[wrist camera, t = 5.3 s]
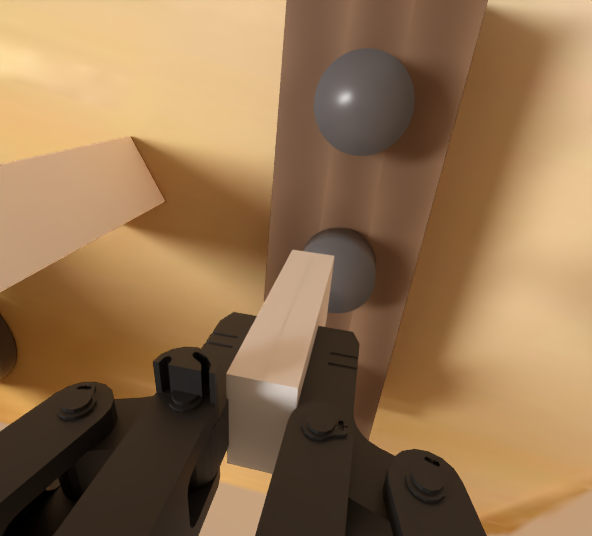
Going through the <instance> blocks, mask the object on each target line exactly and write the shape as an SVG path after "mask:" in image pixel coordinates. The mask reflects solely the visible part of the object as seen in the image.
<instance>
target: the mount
mask: <svg viewBox="0 0 592 536" xmlns="http://www.w3.org/2000/svg"><path fill="white" fill-rule="evenodd" d="M487 2H488V0H287V2H286V15H285V29H284V42H283V55H282V69H281V82H280V95H279V108H278V122H277V135H276V148H275V162H274V175H273V188H272V201H271V215H270V228H269V241H268V255H267V268H266V281H265V294H264V302H265V300H266V298H267V296H268V295H269V293H270V291H271V289H272V287H273V285H274V283H275V281H276V280H277V278H278V276H279V274H280V272H281V270H282V268H283V266H284V265H285V263H286V261H287V259H288V257H289V255H290V253H291V251H292V250H298V251H303V249H304V247H305V246H306V244H307V242H308V241H309V240H310V239H311V238H312V237H313V236H314V235H315V234H317V233H318V232H320V231H323V230H325V229H329V228H345V229H349V230H352V231H355V232H356V233H358V234H360V235H361V236H363V237H364V238H365V239H366V240H367V241H368V242H369V244H370V245H371V247H372V248H373V251H374V253H375V257H376V275H375V286H374V289H373V292H372V294H371V296H370V298H369V299H368V300H367V301H366V302H365V303H364V304H363V305H362V306H361V307H359V308H357V309H355V310H353V311H350V312H346V313H328V312H327V319H326V324H325V327H328V328H334V329H340V330H346V331H351V332H354V334H355V336H356V338H357V340H358V342H359V344H360V346H359V357H358V368H357V380H356V391H355V403H354V420H355V423H356V425H357V428H358V429H359V431H360V432H361V433H362V435H363V436H364V437H365V438H366V439H367V440H369V436H370V433H371V429H372V425H373V422H374V418H375V414H376V411H377V407H378V403H379V399H380V396H381V392H382V388H383V385H384V381H385V377H386V374H387V370H388V366H389V363H390V359H391V355H392V352H393V348H394V344H395V341H396V337H397V333H398V330H399V326H400V322H401V318H402V315H403V311H404V307H405V304H406V300H407V296H408V293H409V289H410V285H411V282H412V278H413V274H414V271H415V267H416V263H417V260H418V256H419V252H420V249H421V245H422V241H423V238H424V234H425V230H426V226H427V223H428V219H429V215H430V212H431V208H432V204H433V201H434V197H435V193H436V190H437V186H438V182H439V179H440V175H441V171H442V168H443V164H444V160H445V157H446V153H447V149H448V145H449V142H450V138H451V134H452V131H453V127H454V123H455V120H456V116H457V112H458V109H459V105H460V101H461V98H462V94H463V90H464V87H465V83H466V79H467V76H468V72H469V68H470V65H471V61H472V57H473V53H474V50H475V46H476V42H477V39H478V35H479V31H480V28H481V24H482V20H483V17H484V13H485V9H486V6H487ZM363 48H373V49H378V50H382V51H385V52H387V53H389V54H391V55H392V56H394V57H395V58H396V59H398V60H399V61H400V62H401V63H402V64H403V66H404V67H405V68H406V70H407V71H408V73H409V75H410V77H411V80H412V83H413V87H414V94H415V104H414V111H413V115H412V118H411V120H410V123H409V125H408V127H407V129H406V130H405V132H404V133H403V135H402V136H401V137H400V138H399V139H398V140H397V141H396V142H395V143H394V144H393V145H392V146H390V147H389V148H387V149H386V150H384V151H382V152H379V153H376V154H373V155H368V156H354V155H349V154H346V153H343V152H341V151H339V150H337V149H336V148H335V147H333V146H332V145H331V144H330V143H329V142H328V141H327V140H326V139H325V138H324V137H323V135H322V133H321V132H320V130H319V128H318V125H317V122H316V119H315V114H314V98H315V92H316V89H317V85H318V83H319V81H320V79H321V77H322V75H323V73H324V72H325V71H326V69H327V68H328V67H329V66H330V65H331V64H332V63H333V62H334V61H335V60H336V59H337V58H339V57H340V56H342V55H344V54H345V53H348V52H350V51H353V50H357V49H363Z"/></svg>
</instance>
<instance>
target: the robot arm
mask: <svg viewBox="0 0 592 536" xmlns="http://www.w3.org/2000/svg"><path fill="white" fill-rule="evenodd" d="M333 264H334V256H332V255H325V254H319V253H312V252H305V251H298V250H292V251H291V253H290V255H289V257H288V259H287V261H286V263H285V265H284V266H283V268H282V270H281V272H280V274H279V276H278V278H277V280H276V281H275V283H274V285H273V287H272V289H271V291H270V293H269V295H268V296H267V298H266V300H265V302H264V304H263V306H262V308H261V310H260V311H259V313H258V315H257V316H253V315H247V314H241V313H236V312H233V313H231V314H230V315H228V316H227V317H225V318H224V319H222V320H220V322H219V323H218V325H217V326H216V328H215V329H214V331H213V334H211V335H210V337H209V338H208V340H207V342H206V343H205V344H204V346H203V347H202V349H200V348H197V347H182V348H176V349H172V350H170V351H168V352H165V353H163V354H161V355H160V356H159V357H158V358H156V359H155V360H154V361H153V366H154V374H155V383H156V391H157V392H156V394H155V395H154V396H150V397H143V398H129V399H114V396H113V392H112V390H111V389H110V388H109V387H108V386H106V385H105V384H101V383H97V382H82V383H78V384H75V385H71V386H68V387H66V388H64V389H62V390H61V391H59V392H57V393H55V394H54V395H52V396H51V397H49V398H48V399H46V400H45V401H44V402H42V403H41V404H39V405H38V406H36V407H35V408H33V409H32V410H31V411H29V412H28V413H26V414H25V415H23V416H22V417H20V418H19V419H18V420H16V421H15V422H13V423H12V424H10V425H9V426H7V427H6V428H5V429H3V430H2V431H1V432H0V536H198V535H199V533H200V530H201V528H202V525H203V522H204V520H205V518H206V515H207V513H208V510H209V508H210V505H211V503H212V500H213V498H214V495H215V493H216V490H217V488H218V484H219V479H220V465H221V463H222V460H223V458H224V455H225V453H226V451H227V463H229V464H233V465H238V466H242V467H246V468H250V469H255V470H259V471H263V472H267V473H272V474H273V475H272V478H271V482H270V485H269V489H268V492H267V496H266V499H265V503H264V507H263V510H262V514H261V517H260V521H259V524H258V528H257V531H256V535H255V536H487V535H486V533H485V531H484V529H483V526H482V524H481V522H480V520H479V518H478V515H477V513H476V511H475V509H474V506H473V504H472V502H471V500H470V497H469V495H468V493H467V491H466V488H465V486H464V484H463V482H462V480H461V479H460V477H459V476H458V474H457V473H456V471H455V469H454V468H452V467H451V466H450V465H449V464H448V463H447V462H446V461H445V460H443V459H442V458H440V457H438V456H436V455H434V454H432V453H430V452H428V451H423V450H417V449H411V450H406V451H402V452H400V453H399V454H397V455H396V456H394V455H392V454H390V453H388V452H386V451H384V450H382V449H380V448H379V447H377V446H375V445H374V444H372V443H371V442H369V441H368V440H367V439H366V438H365V437H364V436H363V435H362V433H361V432H360V431H359V429H358V428H357V425H356V423H355V420H354V403H355V391H356V380H357V368H358V357H359V346H360V344H359V342H358V340H357V338H356V336H355V334H354V332H351V331H346V330H340V329H334V328H328V327H325V324H326V319H327V311H328V303H329V296H330V288H331V280H332V272H333ZM15 362H16V347H15V343H14V340H13V337H12V335H11V333H10V331H9V329H8V327H7V325H6V324H5V322H4V321H3V319H2V318H1V317H0V380H1V379H2V378H4V377H5V376H6V375H7V374H9V373H10V372H11V371H12V369H13V368H14V366H15Z"/></svg>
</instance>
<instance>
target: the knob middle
mask: <svg viewBox="0 0 592 536" xmlns="http://www.w3.org/2000/svg"><path fill="white" fill-rule="evenodd" d="M303 251H305V252H312V253H319V254H325V255H332V256H334V264H333V272H332V280H331V288H330V296H329V303H328V311H327V312H328V313H346V312H350V311H353V310H355V309H357V308H359V307H361V306H362V305H363V304H364V303H365V302H366V301H367V300H368V299H369V298H370V296H371V294H372V292H373V289H374V286H375V275H376V257H375V253H374V251H373V248H372V247H371V245H370V244H369V242H368V241H367V240H366V239H365V238H364V237H363V236H361V235H360V234H358V233H356V232H355V231H352V230H349V229H345V228H329V229H325V230H323V231H320V232H318V233H317V234H315V235H314V236H313V237H312V238H311V239H310V240H309V241H308V242H307V244H306V246H305V247H304V249H303Z"/></svg>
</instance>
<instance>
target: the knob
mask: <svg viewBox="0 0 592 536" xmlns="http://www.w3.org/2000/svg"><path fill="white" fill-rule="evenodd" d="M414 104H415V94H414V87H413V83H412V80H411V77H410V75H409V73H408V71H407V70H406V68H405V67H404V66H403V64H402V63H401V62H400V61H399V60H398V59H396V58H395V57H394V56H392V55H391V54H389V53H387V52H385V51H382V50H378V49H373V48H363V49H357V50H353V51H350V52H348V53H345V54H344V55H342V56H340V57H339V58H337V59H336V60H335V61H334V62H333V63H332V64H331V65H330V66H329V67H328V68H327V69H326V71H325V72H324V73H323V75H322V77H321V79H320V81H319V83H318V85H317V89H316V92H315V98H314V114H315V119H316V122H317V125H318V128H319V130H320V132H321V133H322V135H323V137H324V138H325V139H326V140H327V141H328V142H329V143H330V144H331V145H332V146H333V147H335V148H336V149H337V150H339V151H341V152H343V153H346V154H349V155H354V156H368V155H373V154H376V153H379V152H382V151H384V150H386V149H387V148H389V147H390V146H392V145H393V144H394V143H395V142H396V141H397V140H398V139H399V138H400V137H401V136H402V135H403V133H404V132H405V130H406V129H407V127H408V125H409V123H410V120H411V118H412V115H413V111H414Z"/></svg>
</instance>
